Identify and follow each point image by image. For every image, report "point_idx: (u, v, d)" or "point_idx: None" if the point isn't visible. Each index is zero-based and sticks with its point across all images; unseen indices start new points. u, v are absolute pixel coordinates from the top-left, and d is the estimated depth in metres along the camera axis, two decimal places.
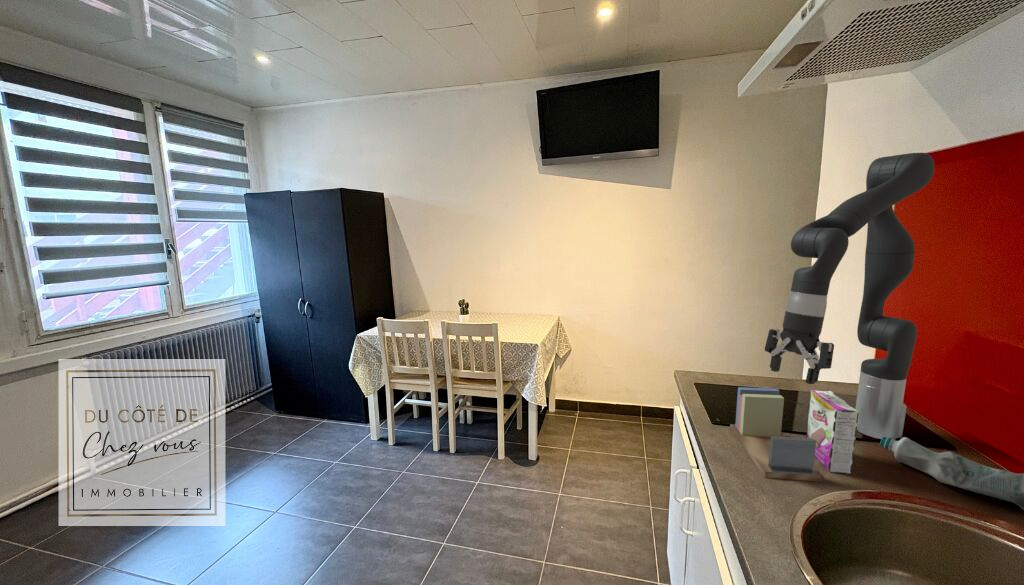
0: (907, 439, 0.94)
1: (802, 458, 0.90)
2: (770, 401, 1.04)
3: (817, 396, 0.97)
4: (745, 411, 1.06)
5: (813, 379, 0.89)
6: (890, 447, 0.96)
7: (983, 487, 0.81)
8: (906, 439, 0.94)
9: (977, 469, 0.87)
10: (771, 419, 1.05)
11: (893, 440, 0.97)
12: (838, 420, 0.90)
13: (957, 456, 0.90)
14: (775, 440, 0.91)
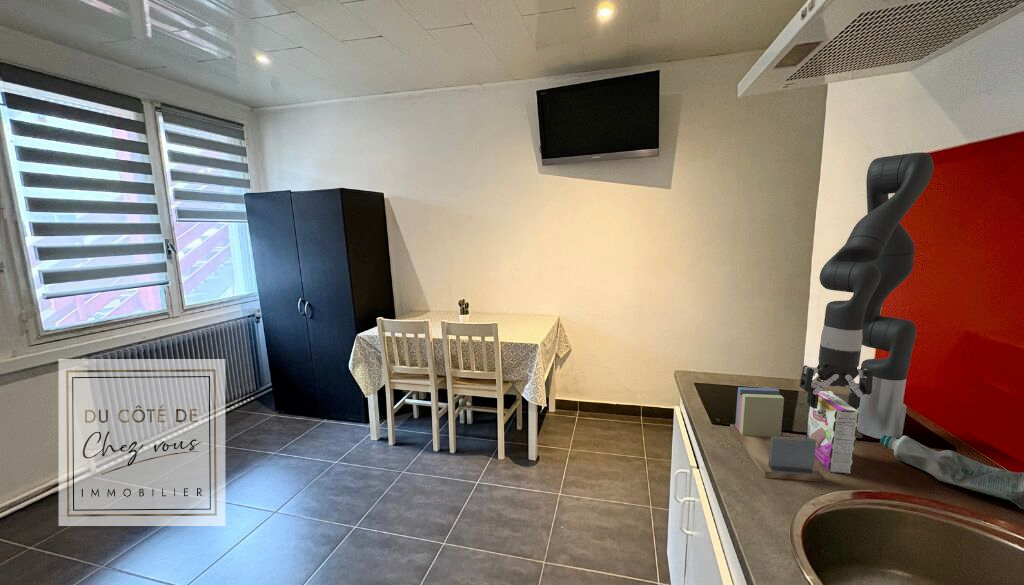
0: (907, 437, 0.95)
1: (802, 458, 0.90)
2: (770, 401, 1.04)
3: None
4: (745, 411, 1.06)
5: (858, 405, 0.93)
6: (890, 445, 0.97)
7: (981, 485, 0.82)
8: (906, 437, 0.95)
9: (977, 468, 0.88)
10: (771, 419, 1.05)
11: (893, 438, 0.97)
12: (838, 420, 0.90)
13: (957, 455, 0.91)
14: (775, 440, 0.91)
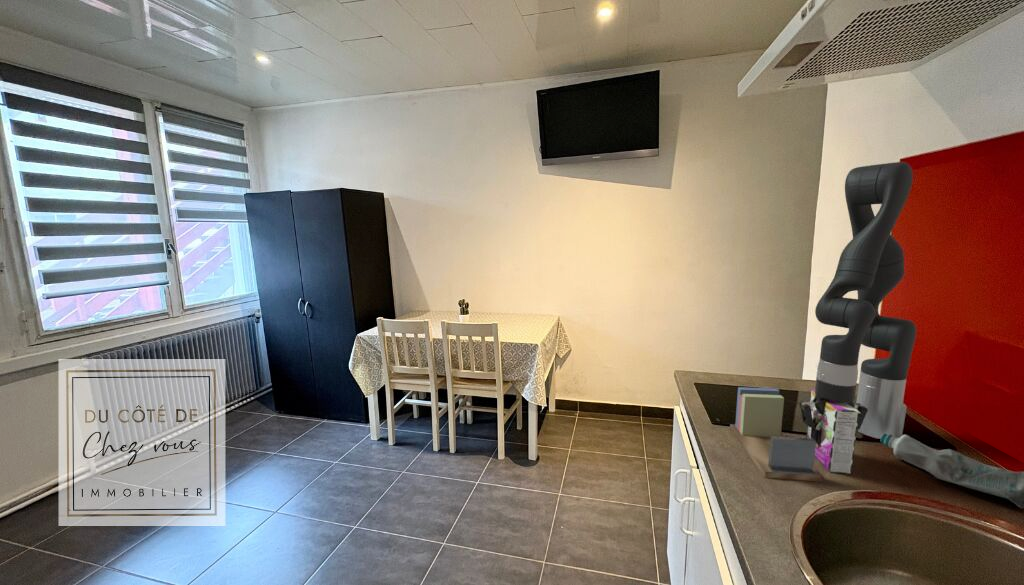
0: (907, 436, 0.95)
1: (802, 458, 0.90)
2: (770, 401, 1.04)
3: None
4: (745, 411, 1.06)
5: None
6: (890, 444, 0.98)
7: (979, 484, 0.82)
8: (906, 436, 0.95)
9: (976, 467, 0.88)
10: (771, 419, 1.05)
11: (893, 437, 0.98)
12: (839, 420, 0.90)
13: (957, 454, 0.91)
14: (775, 440, 0.91)
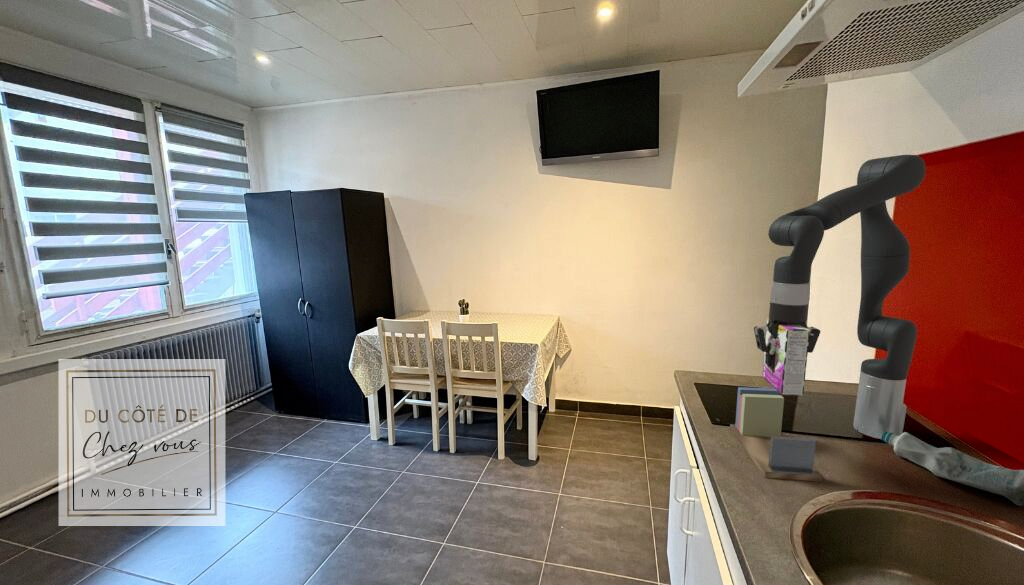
0: (907, 434, 0.96)
1: (802, 458, 0.90)
2: (770, 401, 1.04)
3: None
4: (745, 411, 1.06)
5: None
6: (890, 441, 0.99)
7: (976, 481, 0.83)
8: (906, 434, 0.96)
9: (976, 465, 0.88)
10: (771, 419, 1.05)
11: (894, 435, 0.99)
12: (790, 339, 0.89)
13: (957, 452, 0.92)
14: (775, 440, 0.91)
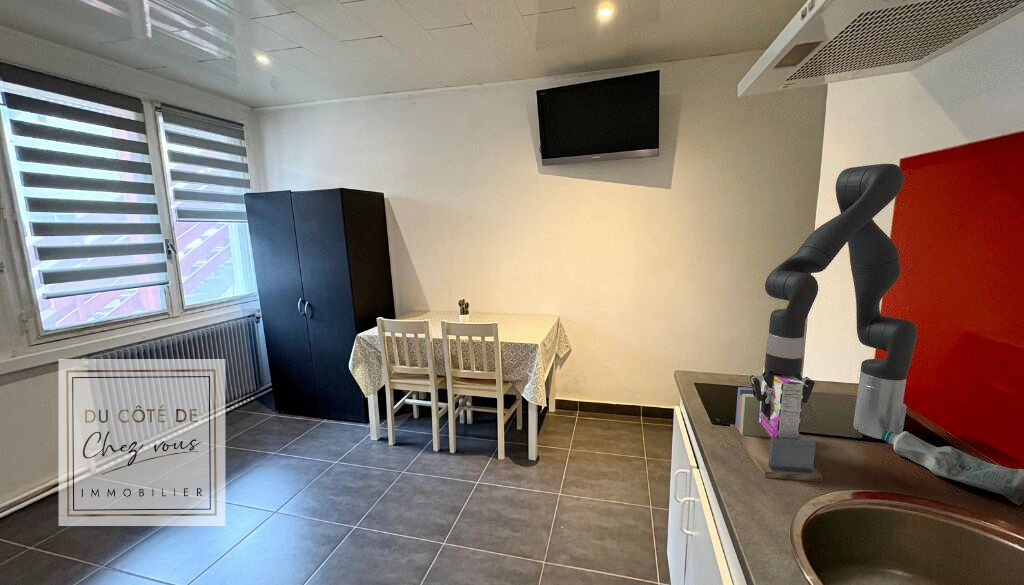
0: (907, 433, 0.97)
1: (802, 458, 0.90)
2: None
3: None
4: (745, 411, 1.06)
5: None
6: (890, 440, 0.99)
7: (975, 479, 0.84)
8: (906, 433, 0.97)
9: (976, 464, 0.89)
10: None
11: (894, 434, 0.99)
12: (785, 392, 0.91)
13: (957, 451, 0.92)
14: (775, 440, 0.91)
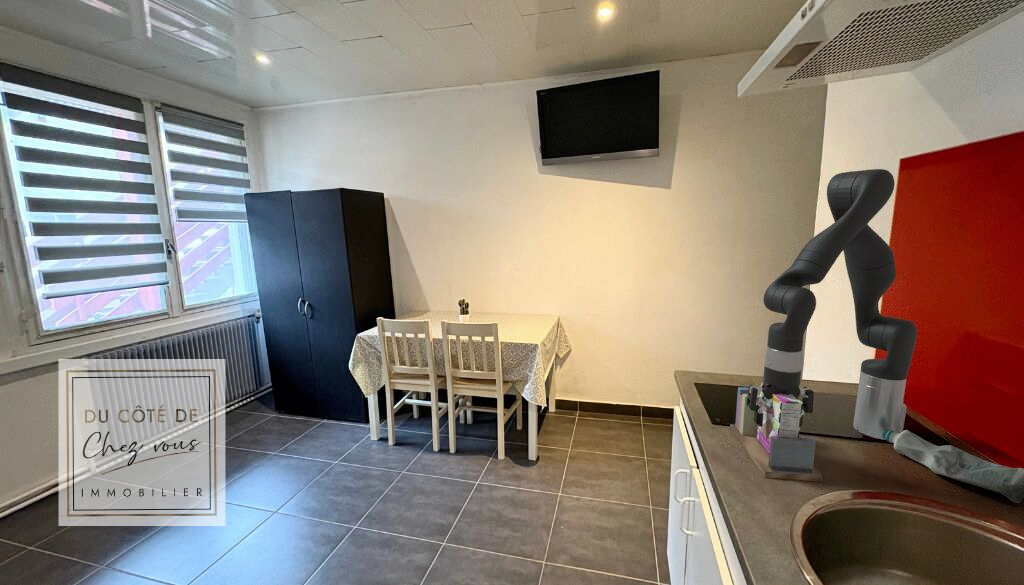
0: (907, 432, 0.97)
1: (802, 458, 0.90)
2: None
3: None
4: (745, 411, 1.06)
5: (801, 423, 0.96)
6: (891, 439, 1.00)
7: (973, 478, 0.84)
8: (906, 432, 0.97)
9: (976, 463, 0.89)
10: None
11: (895, 432, 1.00)
12: (783, 411, 0.92)
13: (958, 450, 0.92)
14: (775, 440, 0.91)
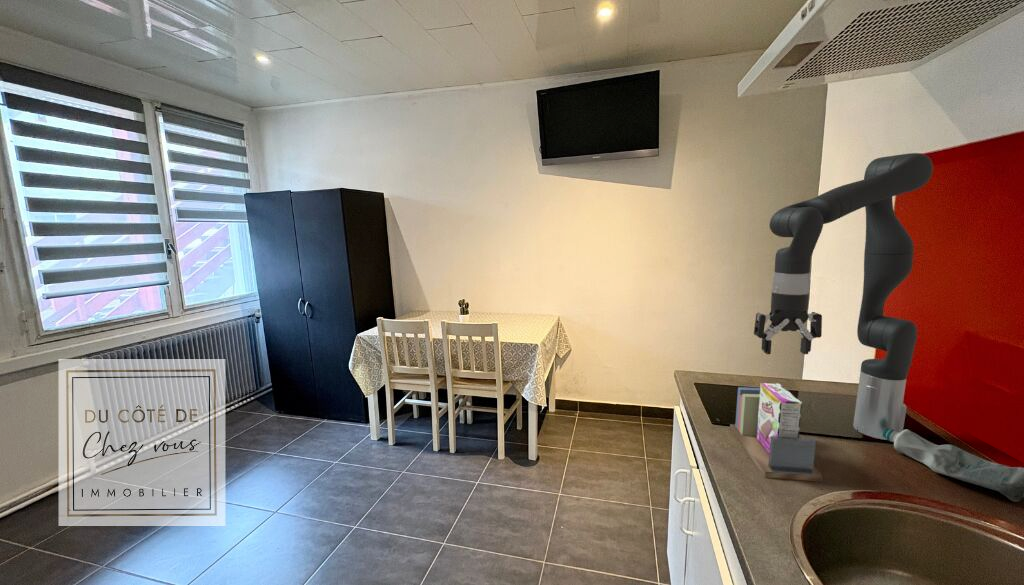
0: (907, 431, 0.98)
1: (802, 458, 0.90)
2: None
3: (765, 388, 0.99)
4: (745, 411, 1.06)
5: (810, 348, 0.96)
6: (891, 438, 1.00)
7: (972, 476, 0.85)
8: (906, 431, 0.98)
9: (976, 462, 0.89)
10: None
11: (895, 432, 1.00)
12: (783, 411, 0.92)
13: (958, 449, 0.93)
14: (775, 440, 0.91)
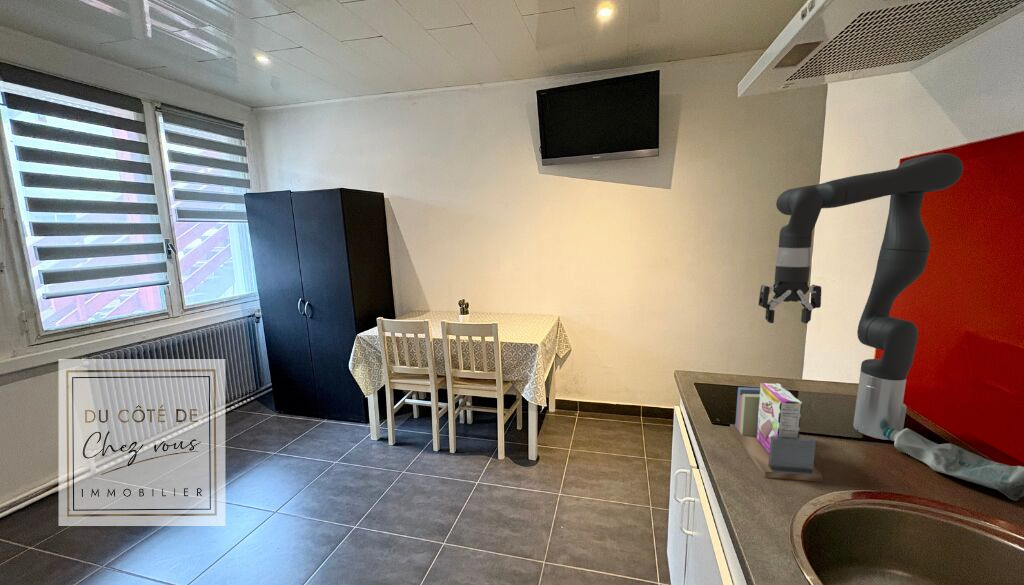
0: (908, 430, 0.98)
1: (802, 458, 0.90)
2: None
3: (765, 388, 0.99)
4: (745, 411, 1.06)
5: (810, 318, 1.05)
6: (891, 437, 1.01)
7: (972, 475, 0.85)
8: (907, 430, 0.98)
9: (976, 461, 0.90)
10: None
11: (896, 431, 1.01)
12: (783, 411, 0.92)
13: (958, 448, 0.93)
14: (775, 440, 0.91)
